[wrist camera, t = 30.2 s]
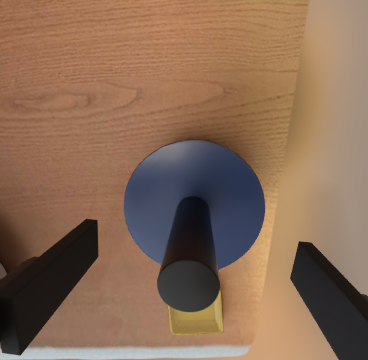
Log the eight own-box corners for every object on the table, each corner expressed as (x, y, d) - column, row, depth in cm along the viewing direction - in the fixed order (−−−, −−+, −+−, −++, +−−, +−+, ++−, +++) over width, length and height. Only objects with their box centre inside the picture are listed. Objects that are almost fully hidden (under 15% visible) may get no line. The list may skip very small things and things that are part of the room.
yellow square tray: (219, 280, 35) (221, 289, 33) (222, 323, 37) (223, 334, 35) (167, 281, 36) (165, 291, 34) (172, 323, 38) (171, 335, 35)
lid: (272, 145, 20) (364, 167, 9) (250, 272, 23) (297, 401, 12) (128, 133, 20) (48, 140, 9) (126, 258, 24) (65, 370, 13)
